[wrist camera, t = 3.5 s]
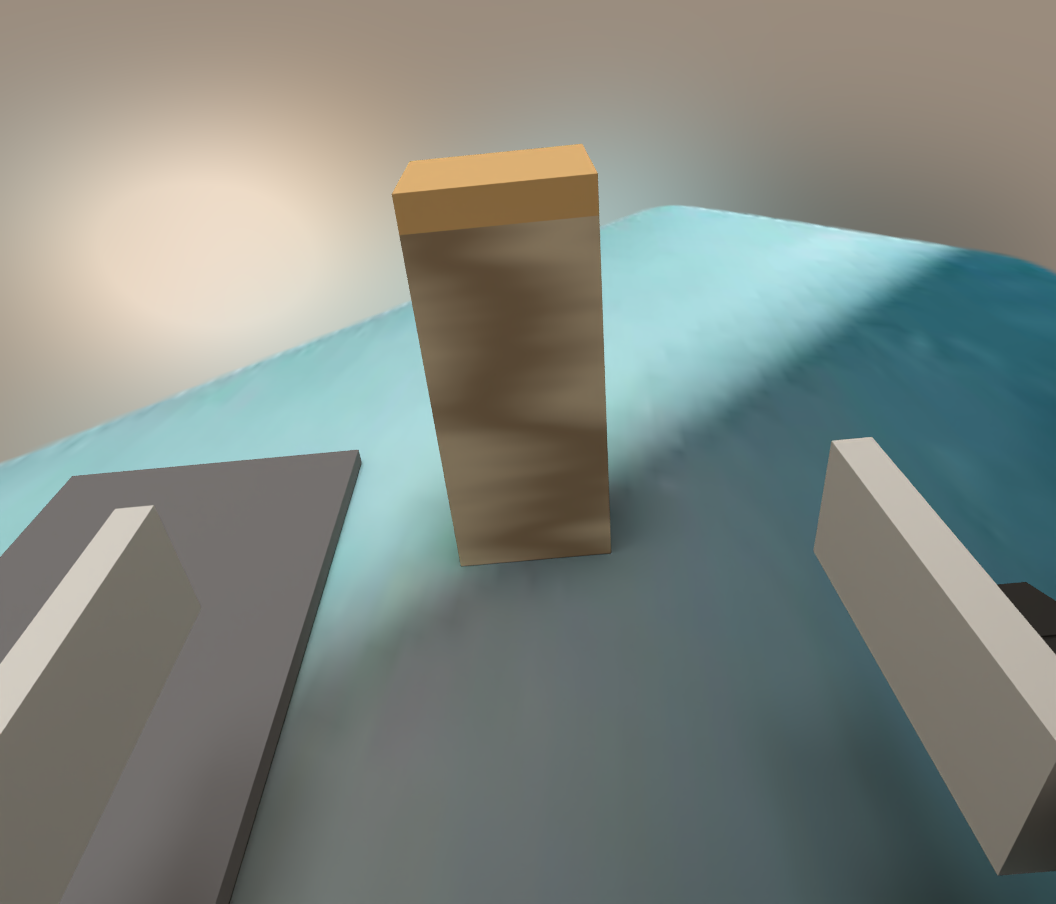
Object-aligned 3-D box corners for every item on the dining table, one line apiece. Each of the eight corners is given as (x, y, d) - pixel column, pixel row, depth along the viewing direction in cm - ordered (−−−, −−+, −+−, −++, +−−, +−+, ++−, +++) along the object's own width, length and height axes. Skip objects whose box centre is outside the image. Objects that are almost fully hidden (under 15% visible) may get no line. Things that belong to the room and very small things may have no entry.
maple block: (597, 483, 27) (582, 143, 21) (611, 552, 24) (597, 173, 17) (466, 495, 27) (409, 161, 21) (460, 566, 24) (391, 194, 17)
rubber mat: (361, 461, 30) (358, 449, 30) (216, 946, 15) (206, 932, 14) (78, 487, 30) (72, 476, 30) (-352, 989, 15) (-373, 976, 15)
